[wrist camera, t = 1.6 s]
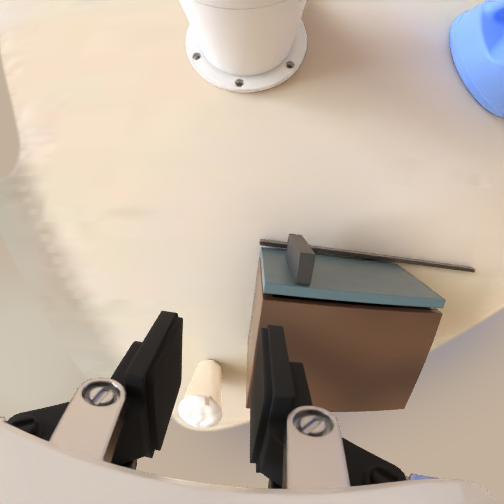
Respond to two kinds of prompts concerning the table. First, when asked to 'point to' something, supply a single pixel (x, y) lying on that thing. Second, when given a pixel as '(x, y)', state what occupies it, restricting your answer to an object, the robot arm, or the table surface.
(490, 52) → the water jug
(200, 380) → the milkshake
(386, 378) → the cabinet
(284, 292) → the glass door
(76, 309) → the table surface
